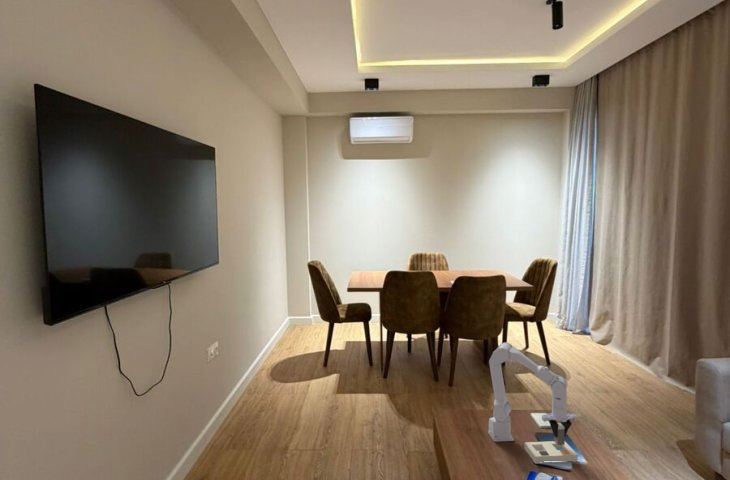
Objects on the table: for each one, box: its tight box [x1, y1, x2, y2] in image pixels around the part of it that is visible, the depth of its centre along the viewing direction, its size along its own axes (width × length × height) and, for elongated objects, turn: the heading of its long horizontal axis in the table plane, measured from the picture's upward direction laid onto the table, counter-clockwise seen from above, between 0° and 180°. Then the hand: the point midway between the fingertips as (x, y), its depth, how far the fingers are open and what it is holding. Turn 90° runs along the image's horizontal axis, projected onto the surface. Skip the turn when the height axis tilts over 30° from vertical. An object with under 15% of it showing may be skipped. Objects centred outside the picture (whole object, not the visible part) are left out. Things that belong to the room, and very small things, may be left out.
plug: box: [553, 422, 566, 445], centre depth 163 cm, size 3×3×8 cm
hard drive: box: [530, 412, 552, 429], centre depth 189 cm, size 2×8×12 cm
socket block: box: [524, 440, 579, 464], centre depth 162 cm, size 18×10×3 cm, turn 92°
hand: (559, 436), depth 163 cm, fingers closed on plug, 3 cm apart
